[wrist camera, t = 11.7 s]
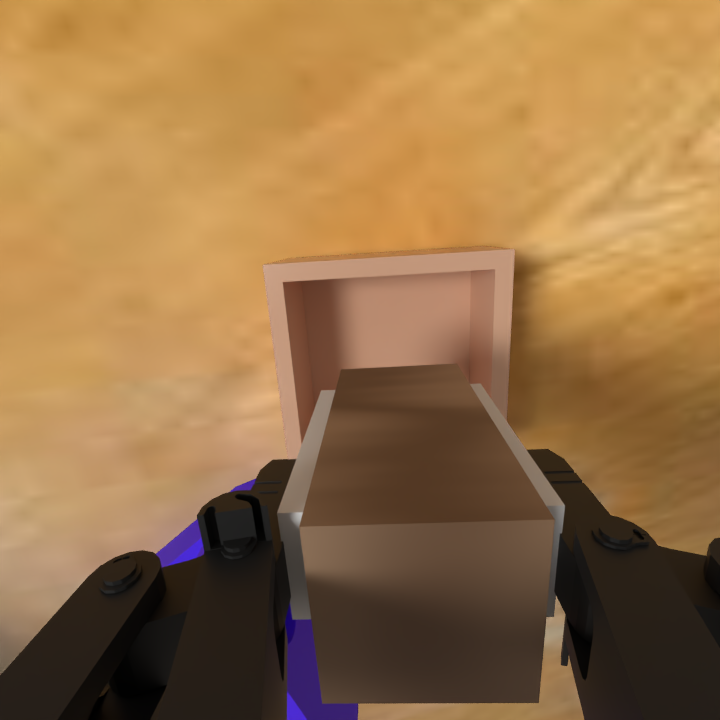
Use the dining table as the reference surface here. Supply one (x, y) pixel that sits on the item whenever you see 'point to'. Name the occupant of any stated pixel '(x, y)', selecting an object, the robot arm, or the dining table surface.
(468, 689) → the walnut post
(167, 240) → the dining table surface
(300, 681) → the bracket
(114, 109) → the dining table surface
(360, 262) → the planter
